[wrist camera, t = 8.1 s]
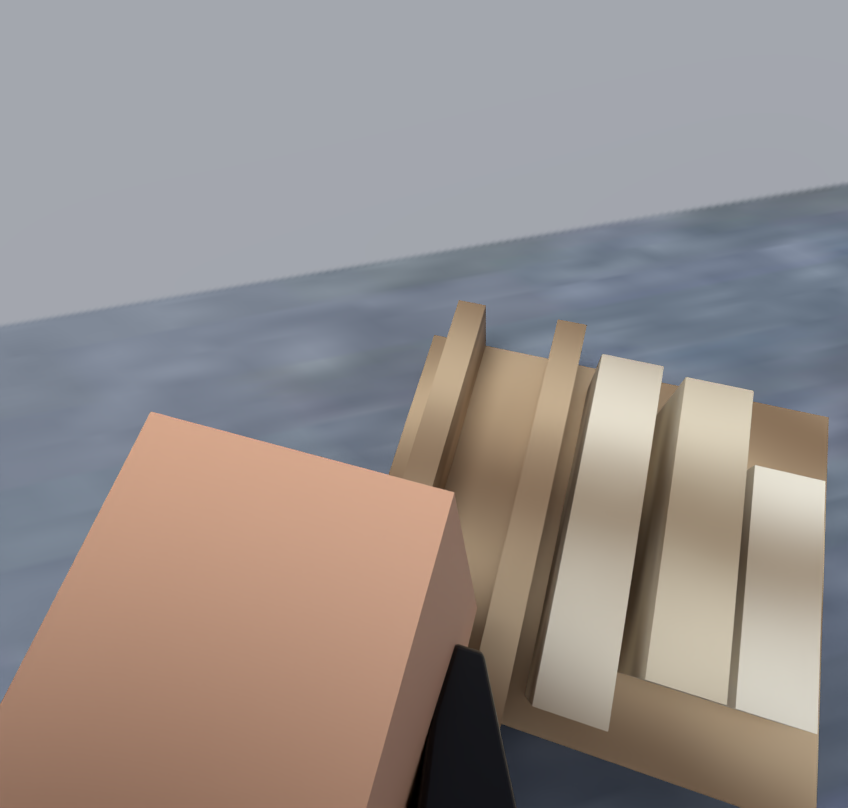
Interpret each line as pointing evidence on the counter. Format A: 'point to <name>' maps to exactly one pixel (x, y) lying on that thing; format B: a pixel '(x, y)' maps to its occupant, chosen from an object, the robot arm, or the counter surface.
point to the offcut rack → (635, 558)
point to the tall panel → (241, 635)
